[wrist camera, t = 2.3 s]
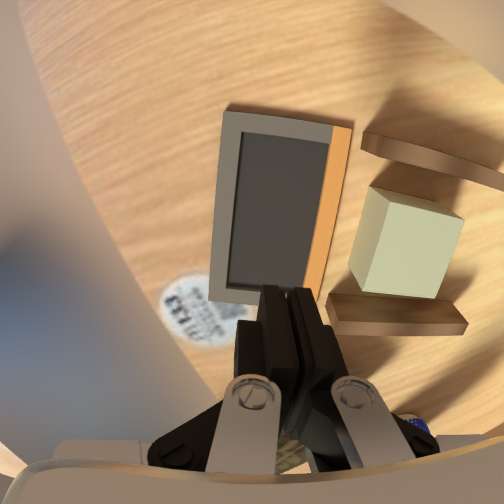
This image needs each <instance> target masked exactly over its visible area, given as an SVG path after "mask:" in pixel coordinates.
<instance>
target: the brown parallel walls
mask: <svg viewBox="0 0 504 504" xmlns="http://www.w3.org/2000/svg"><path fill="white" fill-rule="evenodd" d="M361 149H362V150H364V151H366V152H369V153H371V154H373V155H376V156H378V157H381V158H386V159H390V160H395V161H399V162H403V163H407V164H411V165H415V166H419V167H423V168H427V169H431V170H435V171H438V172H442V173H446V174H449V175H453V176H456V177H460V178H463V179H466V180H470V181H473V182H476V183H479V184H482V185H486V186H489V187H492V188H495V189H498V190H501V191H503V192H504V174H503V173H501V172H498V171H496V170H493V169H490V168H488V167H485V166H482V165H479V164H477V163H474V162H471V161H468V160H465V159H462V158H459V157H456V156H453V155H450V154H446V153H443V152H440V151H437V150H433V149H430V148H426V147H423V146H419V145H416V144H412V143H408V142H405V141H401V140H397V139H393V138H389V137H385V136H381V135H376V134H372V133H367V132H363V137H362V143H361ZM325 308H326V311H327V314H328V317H329V320H330V323H331V326H332V328H333V331H334V334H335V335H363V336H453V335H463V334H464V332H465V330H466V328H467V326H468V324H469V323H468V322H467V321H466V320H465V318H464V317H463V316H462V315H461V313H460V312H459V311H458V310H457V309H456V307H455V306H454V305H453V304H452V303H451V301H436V300H417V299H399V298H383V297H368V296H354V295H340V294H328V298H327V302H326V305H325Z"/></svg>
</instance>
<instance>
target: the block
mask: <svg viewBox="0 0 504 504" xmlns="http://www.w3.org/2000/svg"><path fill="white" fill-rule="evenodd" d="M463 223H464V219H462V218H461V217H459V216H458V215H456V214H455V213H453V212H451V211H450V210H448V209H447V208H445V207H444V206H442V205H440V204H439V203H437V202H433V201H429V200H426V199H422V198H418V197H414V196H410V195H406V194H402V193H398V192H393V191H389V190H385V189H380V188H376V187H372V186H369V187H368V191H367V195H366V199H365V203H364V207H363V211H362V214H361V218H360V222H359V226H358V229H357V233H356V237H355V240H354V244H353V247H352V251H351V254H350V258H349V261H348V266H349V268H350V269H351V271H352V273H353V275H354V277H355V278H356V280H357V282H358V284H359V286H360V288H361V289H362V291H366V292H375V293H385V294H394V295H404V296H414V297H424V298H434V299H435V297H436V295H437V292H438V290H439V288H440V285H441V283H442V281H443V278H444V276H445V273H446V271H447V268H448V266H449V263H450V260H451V258H452V255H453V252H454V250H455V247H456V244H457V241H458V238H459V235H460V232H461V230H462V226H463Z"/></svg>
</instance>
